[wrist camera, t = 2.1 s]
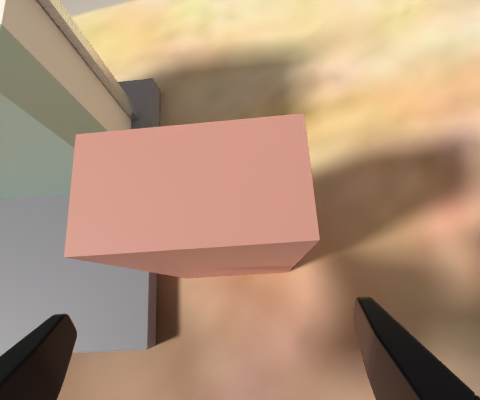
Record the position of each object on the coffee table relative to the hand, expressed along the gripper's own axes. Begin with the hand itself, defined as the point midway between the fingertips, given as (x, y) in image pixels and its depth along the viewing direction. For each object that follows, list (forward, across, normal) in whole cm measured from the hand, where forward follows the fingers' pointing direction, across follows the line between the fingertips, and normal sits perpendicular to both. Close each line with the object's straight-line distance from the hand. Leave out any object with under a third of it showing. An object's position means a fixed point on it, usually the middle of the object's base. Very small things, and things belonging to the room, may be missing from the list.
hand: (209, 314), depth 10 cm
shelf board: (+12, +11, +3) cm, 17 cm away
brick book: (+10, 0, +5) cm, 11 cm away
